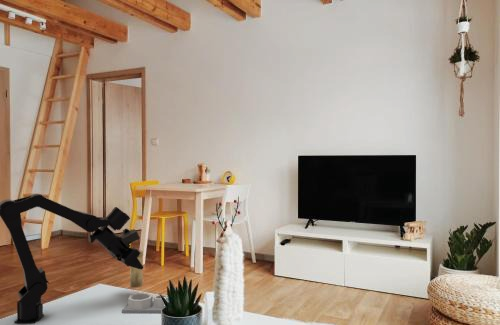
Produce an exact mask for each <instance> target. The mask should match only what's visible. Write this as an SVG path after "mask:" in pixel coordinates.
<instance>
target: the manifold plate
mask: <svg viewBox="0 0 500 325" xmlns="http://www.w3.org/2000/svg"><path fill="white" fill-rule="evenodd" d="M160 295H162V296H163V297H165V298H166V300H167V301H169V297H168V298H167V296H168V295H167V294H158V295H154V296H153V295H152V294H151V293H148V292H146V293H145V292H143V293H142V292H139V293H135V294H131V295H129V297H128V298H127V304H126V305H125V306H124V307H123V308H122V310H121V314H162V313H161V310H162V309H163V308H164V307H165V306H164V303H163V301H162V299H161V296H160Z"/></svg>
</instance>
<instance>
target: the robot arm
mask: <svg viewBox="0 0 500 325" xmlns="http://www.w3.org/2000/svg"><path fill="white" fill-rule="evenodd" d="M35 208H40V209H43V210H45V211H47V212H49V213H52V214H54V215H57V216H59V217H61V218H64V219H66V220H68V221H70V222H72V224H74V225H76V226H77V227H79V228H80V229H82V230H84V231H86V232H87V233H89V234H87V236H88V238H87V239H88V240H87V241H88V242H90V243H91V244H93V243H94V242H95V240H96V241H97V242H98V243H99V244H100V245H101V246H102V247H103V248H104V249H105V250H107V251H108V253H109V255H110V256H111V257H112V258H114V259H116V260H117V261H119V262H121V263H122V264H124V266H127V267H128V268H130V267H134V268H137V269H141V270H142V269H143V270H144V266H142V264H141V263H140V261H139V260H138V258H137V257H138V256H139V255H140V253H141V252H139V251H138V249H137V248H135V247H131V246H132V245H131V244H132V243H135V242H136V241H139V240H140V239H141V237H140V235H139V233H138V230H136V229H134V228H133V229H130V230H129V229H128V228H124V229H123V227H124V226H126V224H127V223H129V221H130V219H131V217H130V216H129V215H128V214H127V213H126V212H124V211H123V210H121V209H120V208H119V207H117V206H114V207H113V209H112V210H111V211H110V212H109V213H108V214H107V216H106V217H102V216H101V217H100V216H99V217H98V216H97V215H94V214H93V213H89V212H84V211H80V210H77V209H76V210H75V209H73V208H70V207H68V206H66V205H64V204H60V203H59V202H56V201H54V200H53V199H49V198H48V197H45V196H44V195H42V194H40V193H33V194H32V195H29V196H28V195H27V196H23V197H20V198H17V199H4V200H1V201H0V218H1V220H2V221H3V223H4V225H5V226H6V228H7V229H8V232H9V234H10V238H11V240H12V243H13V245H14V248H15V250H16V254H17V256H18V259H19V262H20V265H21V266H22V271H23V273H22V274H23V280H24V281H23V282H24V285H23V286H22V287H21V288H20V289H19V290H18V292H17V295H18V298H19V300H18V301H16V318H17V319H15V320H14V321H13V323H14V324H34V323H36V322H37V321H39V320H40V319H42V318H43V317H44V316H45V314H44V305H43V303H42V296H43V295H44V294H45V293H46V292H47V290H48V284H49V280H48V279H47V277H46V271H45V270H44V268H43V267H39V268H38V267H37V265H36V263H35V260H34V256H33V254H32V251H31V248H30V246H29V242H28V240H27V237H26V235H25V231H24V229H23V224H22V215H21V213H25V212H28V211H30V210H32V209H35ZM111 229H112V230H111ZM121 230H122V234H121V235H120V236H119V235H118V234H116V233H115V232H116V231H121ZM113 231H114V232H113Z"/></svg>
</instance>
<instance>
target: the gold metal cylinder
mask: <svg viewBox="0 0 500 325" xmlns="http://www.w3.org/2000/svg"><path fill="white" fill-rule="evenodd" d="M137 250H138V249H137ZM138 251H139V252H141V253H140V255H139V256H138V257H137V258H138V260H139V261H140V263H141V264H142V266H143V265H144V264H143V263H144V260H143V258H144V257H143V256H144V250H138ZM143 267H144V266H143ZM143 270H144V268H143V269H142V270H141V269H137V268H134V267H130V266H129V286H130V288H141V287H143V285H144V282H143V281H144V279H143V278H144V277H143V276H144V272H143Z"/></svg>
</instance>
